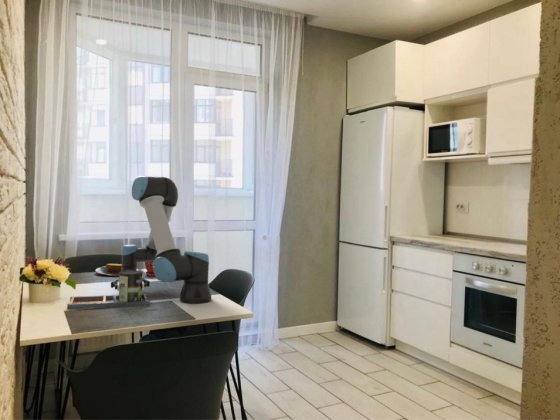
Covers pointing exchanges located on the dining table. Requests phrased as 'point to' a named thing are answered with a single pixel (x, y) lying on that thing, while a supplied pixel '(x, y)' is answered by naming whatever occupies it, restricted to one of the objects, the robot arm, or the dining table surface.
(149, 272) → the plant pot
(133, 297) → the coffee can
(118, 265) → the food on plate
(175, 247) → the robot arm
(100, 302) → the gray rectangular tray
